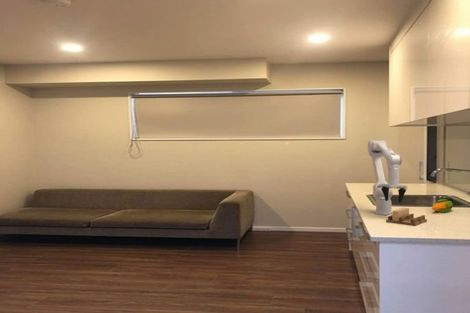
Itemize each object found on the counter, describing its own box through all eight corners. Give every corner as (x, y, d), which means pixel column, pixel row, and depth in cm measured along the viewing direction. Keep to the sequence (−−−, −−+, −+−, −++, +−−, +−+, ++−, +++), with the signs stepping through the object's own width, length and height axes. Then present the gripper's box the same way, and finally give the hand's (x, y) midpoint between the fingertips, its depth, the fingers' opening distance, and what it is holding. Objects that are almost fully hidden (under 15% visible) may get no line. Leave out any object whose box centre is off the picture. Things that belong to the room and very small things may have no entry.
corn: (455, 198, 261) (439, 201, 248) (456, 211, 261) (440, 214, 248) (443, 197, 267) (427, 201, 254) (444, 210, 267) (427, 214, 254)
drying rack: (399, 217, 240) (399, 212, 240) (426, 221, 229) (426, 215, 229) (386, 222, 228) (386, 216, 228) (414, 226, 218) (414, 219, 218)
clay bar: (403, 216, 237) (403, 207, 237) (409, 217, 235) (409, 208, 235) (392, 220, 227) (392, 210, 227) (397, 221, 225) (398, 211, 225)
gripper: (377, 176, 239) (377, 200, 240) (403, 178, 229) (403, 203, 230) (383, 175, 244) (383, 199, 245) (409, 177, 234) (408, 202, 235)
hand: (393, 201), depth 238 cm, fingers open, 7 cm apart
